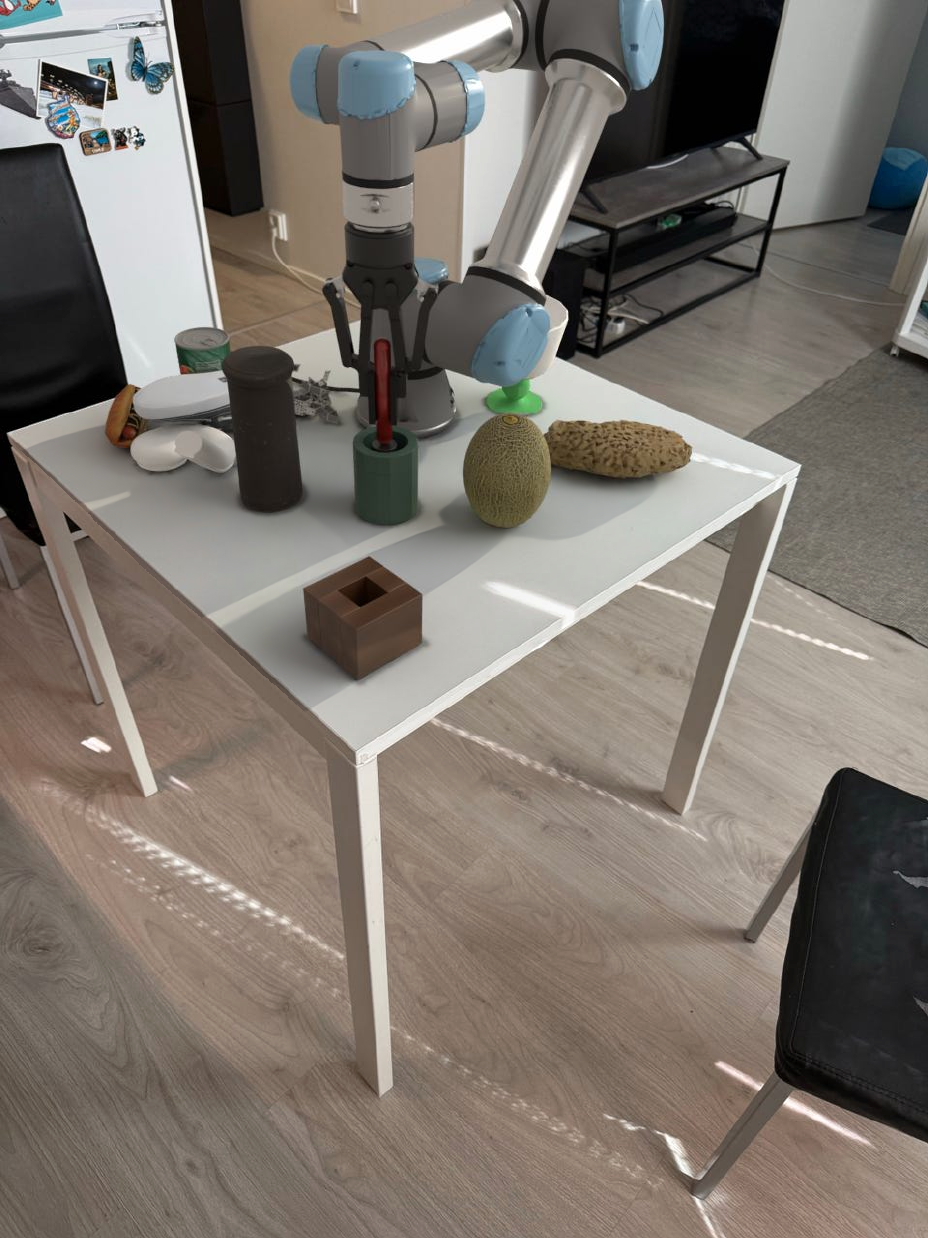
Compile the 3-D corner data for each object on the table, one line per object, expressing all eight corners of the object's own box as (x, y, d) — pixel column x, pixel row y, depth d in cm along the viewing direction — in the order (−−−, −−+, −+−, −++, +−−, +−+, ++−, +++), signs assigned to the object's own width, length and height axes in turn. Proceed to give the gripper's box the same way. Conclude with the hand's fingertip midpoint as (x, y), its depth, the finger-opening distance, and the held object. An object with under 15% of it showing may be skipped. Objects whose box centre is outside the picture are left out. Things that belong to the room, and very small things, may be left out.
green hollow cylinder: (343, 505, 121) (339, 438, 114) (390, 484, 125) (389, 419, 119) (382, 532, 116) (381, 464, 110) (430, 509, 121) (431, 443, 114)
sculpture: (176, 430, 134) (166, 380, 129) (258, 457, 129) (252, 406, 124) (117, 466, 126) (104, 414, 120) (202, 496, 121) (193, 443, 116)
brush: (368, 490, 119) (362, 336, 106) (387, 481, 121) (383, 329, 107) (384, 500, 117) (380, 345, 104) (402, 491, 119) (401, 338, 106)
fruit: (447, 505, 122) (450, 403, 112) (521, 489, 126) (530, 389, 116) (483, 551, 114) (490, 446, 104) (560, 533, 118) (574, 430, 108)
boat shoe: (120, 384, 124) (126, 438, 129) (155, 410, 120) (159, 464, 125) (267, 351, 139) (267, 400, 144) (302, 373, 135) (300, 423, 140)
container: (316, 486, 124) (305, 346, 111) (285, 520, 118) (270, 376, 105) (260, 473, 126) (243, 334, 113) (226, 506, 119) (204, 362, 107)
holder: (307, 637, 100) (302, 588, 96) (370, 604, 105) (369, 555, 101) (358, 680, 95) (355, 630, 91) (422, 643, 100) (422, 593, 96)
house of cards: (333, 347, 138) (369, 373, 136) (326, 395, 145) (360, 420, 142) (290, 364, 133) (326, 391, 130) (284, 413, 139) (318, 439, 137)
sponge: (536, 480, 130) (673, 491, 121) (534, 426, 127) (675, 434, 118) (569, 456, 140) (697, 465, 132) (568, 406, 137) (700, 411, 128)
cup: (563, 388, 149) (575, 297, 138) (548, 434, 140) (560, 340, 129) (482, 374, 151) (488, 283, 140) (462, 418, 142) (466, 324, 130)
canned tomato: (175, 404, 140) (163, 336, 133) (217, 389, 145) (207, 322, 138) (206, 422, 136) (195, 352, 129) (248, 405, 141) (240, 337, 134)
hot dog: (132, 417, 138) (157, 400, 137) (121, 463, 129) (149, 445, 127) (108, 393, 135) (134, 375, 134) (95, 437, 125) (123, 418, 124)
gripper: (303, 229, 94) (319, 431, 110) (447, 236, 94) (442, 437, 110) (314, 207, 100) (328, 402, 115) (450, 214, 100) (445, 408, 115)
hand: (383, 419), depth 112 cm, fingers closed on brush, 2 cm apart
